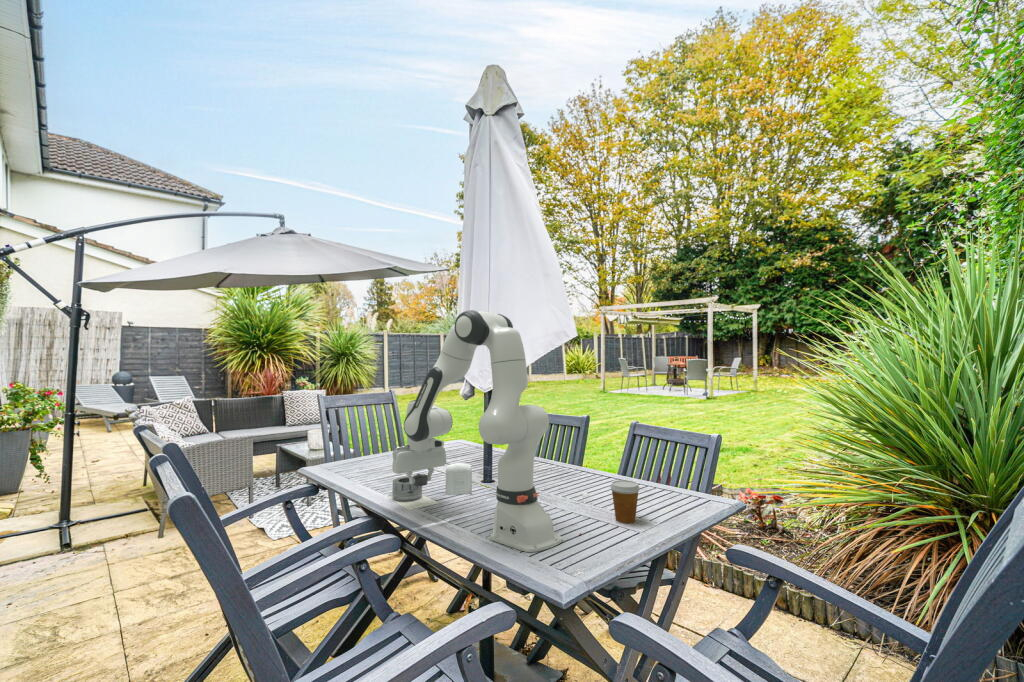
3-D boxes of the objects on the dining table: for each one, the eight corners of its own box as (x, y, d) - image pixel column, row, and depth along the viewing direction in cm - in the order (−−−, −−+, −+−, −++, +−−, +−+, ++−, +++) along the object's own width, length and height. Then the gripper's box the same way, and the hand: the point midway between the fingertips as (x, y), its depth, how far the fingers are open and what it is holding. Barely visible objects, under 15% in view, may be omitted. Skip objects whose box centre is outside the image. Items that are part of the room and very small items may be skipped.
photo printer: (471, 492, 192) (471, 461, 193) (472, 496, 188) (472, 464, 188) (445, 494, 191) (445, 462, 191) (445, 497, 187) (445, 465, 187)
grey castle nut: (427, 497, 183) (427, 480, 183) (400, 503, 176) (400, 485, 176) (414, 491, 191) (414, 474, 192) (387, 496, 185) (387, 479, 185)
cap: (429, 484, 175) (429, 474, 175) (417, 486, 172) (417, 476, 172) (423, 481, 179) (423, 472, 179) (411, 484, 176) (410, 474, 176)
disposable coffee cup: (608, 515, 165) (608, 479, 165) (637, 515, 164) (636, 479, 165) (612, 525, 156) (612, 487, 156) (643, 525, 155) (642, 487, 155)
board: (438, 505, 177) (438, 502, 177) (408, 512, 169) (408, 509, 169) (415, 493, 192) (415, 491, 192) (386, 499, 184) (386, 497, 184)
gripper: (396, 448, 167) (397, 489, 166) (447, 441, 180) (449, 478, 179) (388, 446, 172) (389, 485, 171) (439, 439, 185) (440, 475, 184)
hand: (420, 482), depth 175 cm, fingers closed on cap, 5 cm apart
